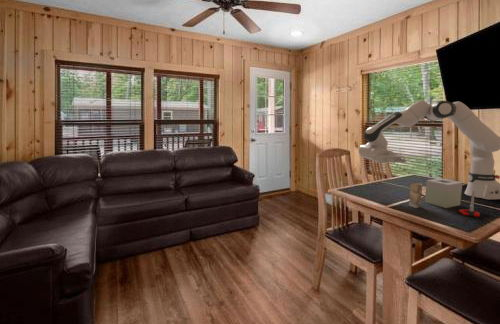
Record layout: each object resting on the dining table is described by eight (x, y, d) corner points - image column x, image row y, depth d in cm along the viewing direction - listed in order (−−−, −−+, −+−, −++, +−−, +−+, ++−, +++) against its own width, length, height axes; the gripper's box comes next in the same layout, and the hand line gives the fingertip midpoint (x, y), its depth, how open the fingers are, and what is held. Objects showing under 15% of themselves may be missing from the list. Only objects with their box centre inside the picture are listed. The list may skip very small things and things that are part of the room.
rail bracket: (413, 205, 157) (415, 182, 155) (420, 207, 153) (422, 184, 151) (408, 205, 156) (410, 183, 154) (415, 208, 152) (417, 184, 150)
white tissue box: (438, 199, 167) (440, 178, 165) (459, 205, 156) (462, 182, 154) (424, 202, 162) (426, 180, 160) (445, 208, 151) (448, 184, 149)
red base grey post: (457, 210, 149) (460, 215, 141) (460, 186, 147) (463, 190, 139) (477, 213, 145) (481, 217, 137) (480, 188, 143) (484, 192, 135)
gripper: (369, 150, 169) (388, 156, 157) (392, 150, 178) (412, 156, 166) (367, 160, 171) (386, 166, 158) (390, 160, 179) (410, 166, 167)
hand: (400, 161), depth 162 cm, fingers open, 8 cm apart
